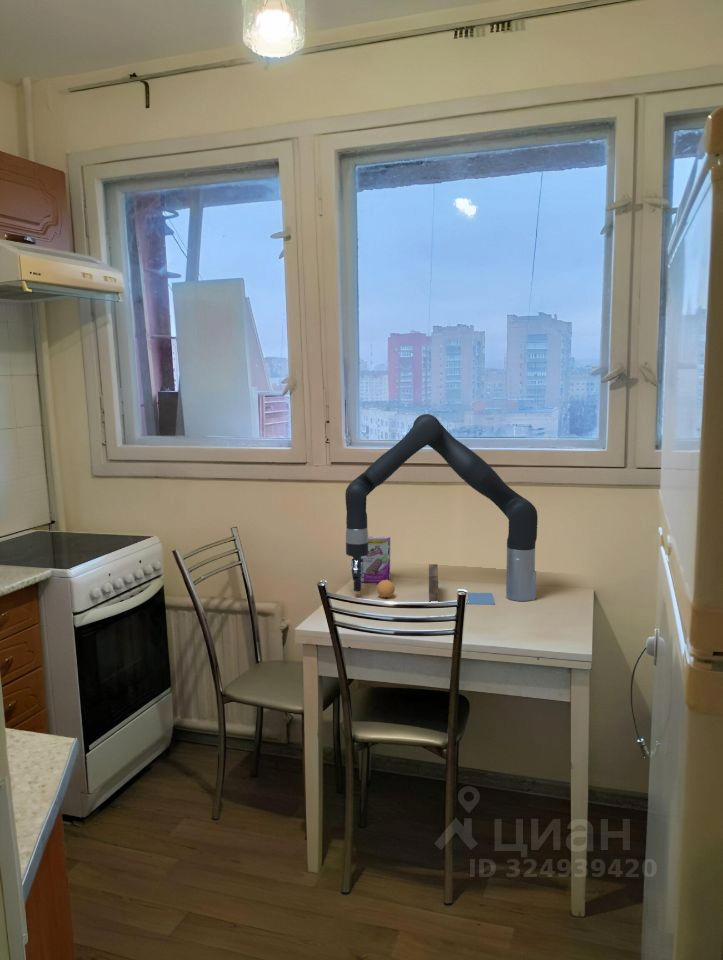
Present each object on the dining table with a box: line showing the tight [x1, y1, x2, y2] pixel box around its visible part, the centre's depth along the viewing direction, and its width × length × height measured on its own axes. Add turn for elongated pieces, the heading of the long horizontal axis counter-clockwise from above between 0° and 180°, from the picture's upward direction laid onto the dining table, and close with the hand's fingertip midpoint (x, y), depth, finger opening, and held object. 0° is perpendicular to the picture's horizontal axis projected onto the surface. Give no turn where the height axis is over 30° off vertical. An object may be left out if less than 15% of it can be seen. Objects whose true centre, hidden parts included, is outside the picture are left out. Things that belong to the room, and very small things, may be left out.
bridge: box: [428, 563, 439, 603], centre depth 237 cm, size 3×15×10 cm, turn 175°
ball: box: [376, 580, 396, 599], centre depth 238 cm, size 6×6×6 cm
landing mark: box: [466, 592, 496, 605], centre depth 236 cm, size 12×12×1 cm
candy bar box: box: [361, 536, 391, 584], centre depth 257 cm, size 11×5×16 cm, turn 84°
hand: (357, 590), depth 239 cm, fingers closed
